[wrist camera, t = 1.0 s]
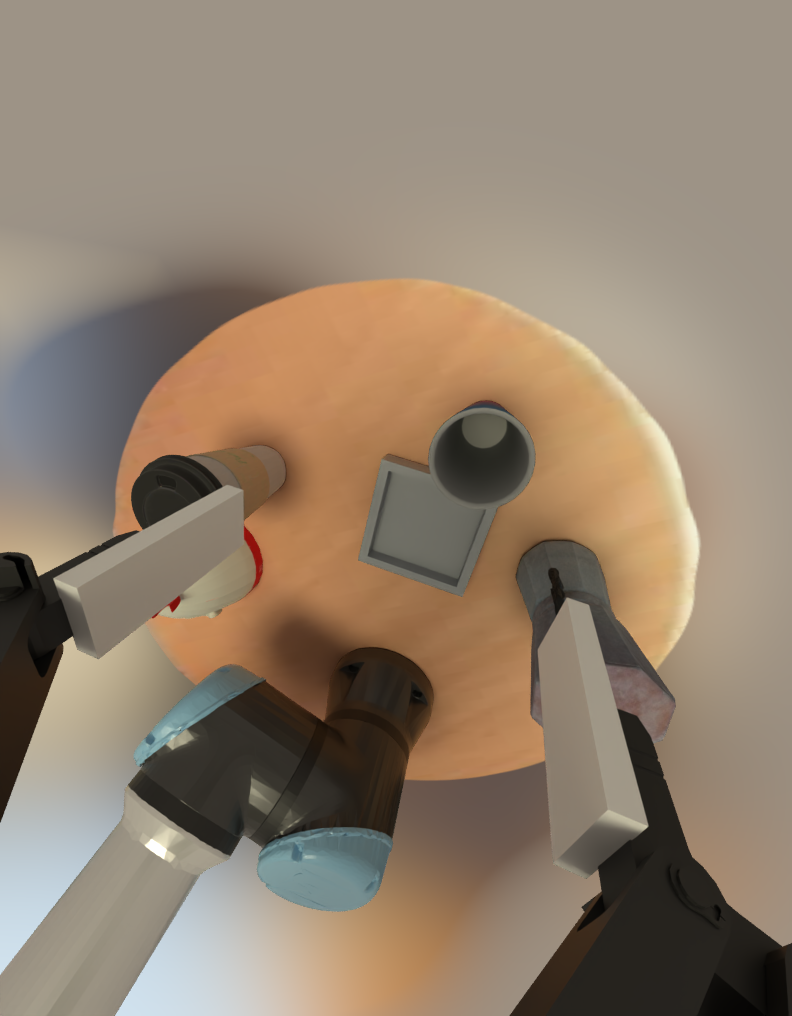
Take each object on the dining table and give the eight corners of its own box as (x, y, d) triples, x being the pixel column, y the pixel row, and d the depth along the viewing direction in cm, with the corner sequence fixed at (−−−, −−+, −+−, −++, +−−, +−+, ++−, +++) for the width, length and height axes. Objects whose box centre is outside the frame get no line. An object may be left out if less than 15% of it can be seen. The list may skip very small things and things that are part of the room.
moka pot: (539, 635, 45) (572, 820, 27) (485, 529, 41) (480, 658, 23) (623, 613, 41) (727, 810, 23) (571, 496, 38) (645, 617, 20)
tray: (463, 585, 45) (462, 597, 42) (364, 550, 46) (357, 560, 44) (501, 489, 39) (502, 496, 37) (387, 453, 41) (381, 459, 39)
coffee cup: (279, 419, 43) (182, 445, 29) (312, 493, 45) (236, 549, 31) (218, 444, 46) (104, 477, 32) (251, 512, 48) (159, 570, 34)
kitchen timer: (165, 508, 52) (49, 560, 38) (249, 507, 48) (154, 564, 35) (193, 592, 56) (100, 665, 43) (272, 597, 53) (197, 677, 39)
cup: (449, 457, 39) (427, 506, 26) (452, 390, 37) (429, 406, 23) (515, 460, 38) (528, 513, 24) (522, 391, 35) (542, 408, 22)
